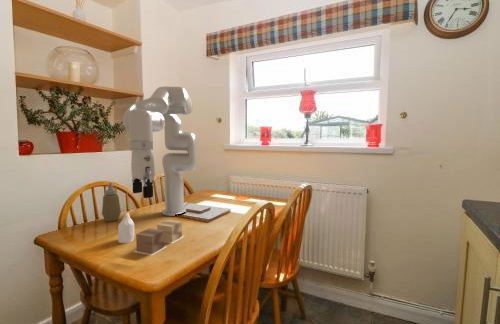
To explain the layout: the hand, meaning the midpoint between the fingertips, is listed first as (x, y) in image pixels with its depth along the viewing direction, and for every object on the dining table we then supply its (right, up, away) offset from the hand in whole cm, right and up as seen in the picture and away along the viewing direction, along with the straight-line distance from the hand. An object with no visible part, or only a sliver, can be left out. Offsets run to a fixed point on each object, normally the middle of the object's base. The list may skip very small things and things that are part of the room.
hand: (142, 195), depth 98 cm
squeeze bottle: (-29, -16, +36) cm, 49 cm away
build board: (+5, -20, +5) cm, 21 cm away
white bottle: (-9, -19, +8) cm, 23 cm away
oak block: (+7, -18, +10) cm, 21 cm away
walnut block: (+3, -19, 0) cm, 19 cm away
